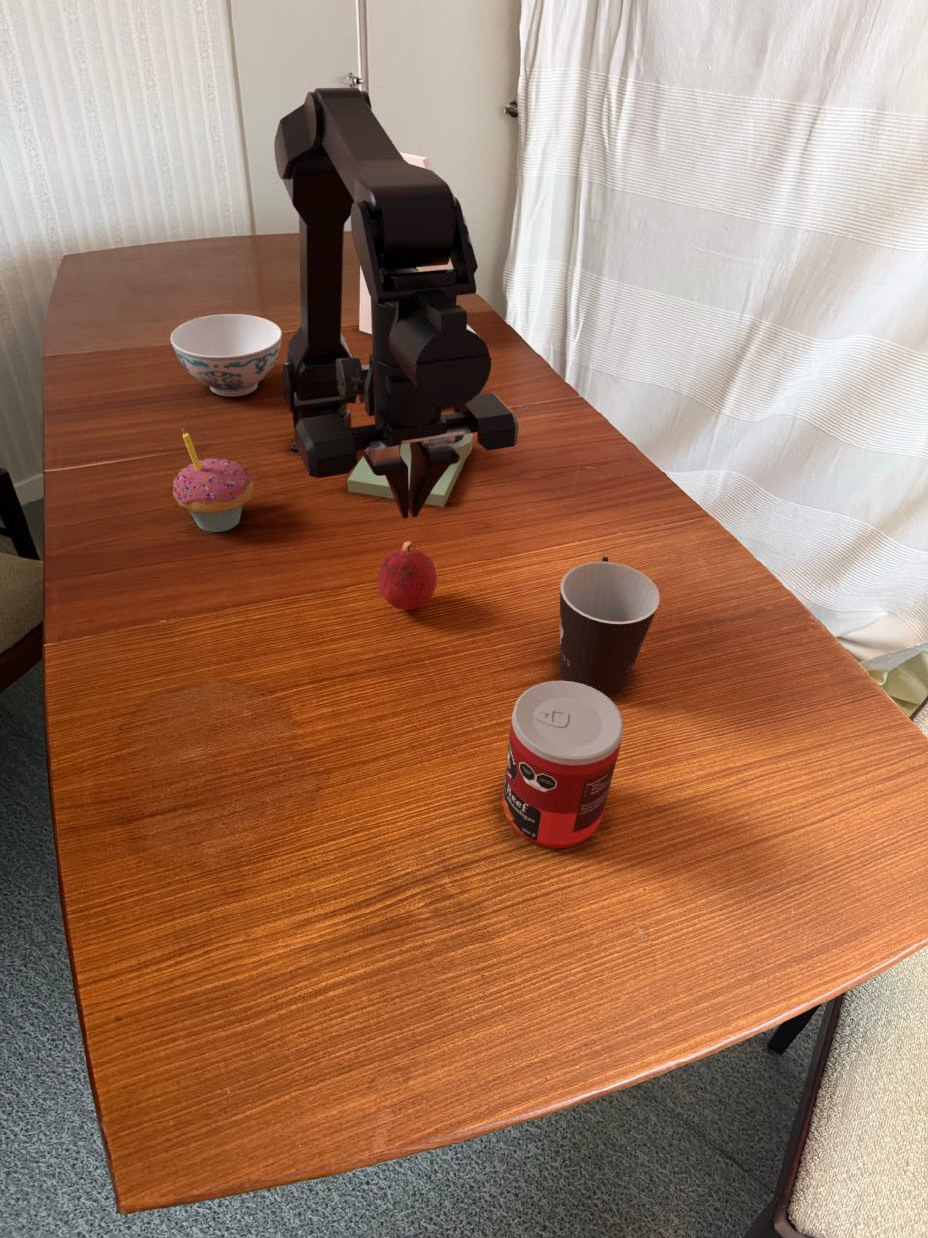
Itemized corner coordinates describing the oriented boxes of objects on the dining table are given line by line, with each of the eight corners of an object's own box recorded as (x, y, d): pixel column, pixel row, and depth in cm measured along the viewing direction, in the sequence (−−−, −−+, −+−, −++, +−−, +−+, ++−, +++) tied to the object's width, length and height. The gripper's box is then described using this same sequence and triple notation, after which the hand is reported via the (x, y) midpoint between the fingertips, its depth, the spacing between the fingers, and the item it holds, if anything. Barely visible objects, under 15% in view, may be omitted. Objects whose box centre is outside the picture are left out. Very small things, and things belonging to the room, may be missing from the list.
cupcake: (190, 549, 90) (169, 451, 83) (172, 509, 96) (151, 414, 88) (266, 530, 94) (253, 434, 86) (245, 493, 99) (231, 400, 91)
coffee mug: (616, 720, 74) (636, 637, 67) (531, 682, 77) (542, 599, 71) (664, 647, 82) (686, 566, 75) (585, 615, 85) (600, 534, 78)
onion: (428, 630, 82) (429, 566, 77) (372, 621, 83) (369, 556, 78) (441, 594, 86) (443, 531, 81) (387, 586, 87) (386, 522, 82)
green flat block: (347, 491, 101) (346, 466, 98) (383, 436, 111) (382, 412, 109) (449, 508, 99) (450, 483, 96) (475, 451, 109) (477, 426, 107)
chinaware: (158, 396, 117) (147, 343, 112) (220, 357, 128) (212, 306, 123) (249, 419, 113) (242, 365, 108) (305, 376, 124) (301, 325, 119)
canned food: (496, 774, 69) (506, 680, 62) (590, 770, 70) (611, 677, 62) (507, 854, 63) (520, 761, 56) (610, 849, 64) (635, 757, 57)
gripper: (476, 307, 76) (469, 458, 86) (272, 328, 70) (290, 488, 80) (528, 354, 68) (513, 515, 78) (302, 383, 62) (318, 552, 72)
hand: (408, 515), depth 77 cm, fingers closed
